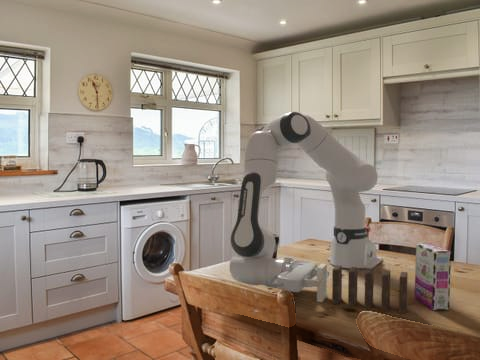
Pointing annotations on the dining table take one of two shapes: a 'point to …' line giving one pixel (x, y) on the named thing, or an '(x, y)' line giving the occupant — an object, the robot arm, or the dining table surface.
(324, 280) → the ivory domino
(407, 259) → the dining table surface
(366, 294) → the domino
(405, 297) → the domino
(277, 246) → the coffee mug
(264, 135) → the robot arm
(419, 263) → the candy bar box
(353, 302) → the domino
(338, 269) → the domino
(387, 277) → the domino
